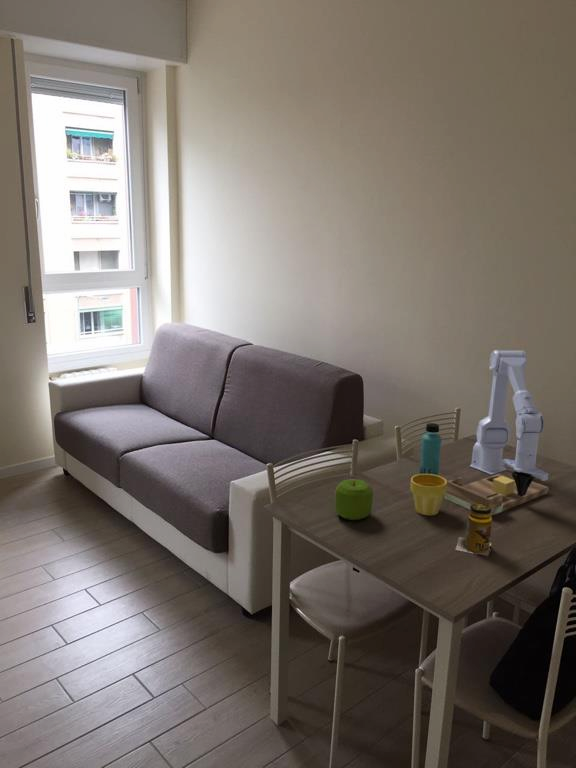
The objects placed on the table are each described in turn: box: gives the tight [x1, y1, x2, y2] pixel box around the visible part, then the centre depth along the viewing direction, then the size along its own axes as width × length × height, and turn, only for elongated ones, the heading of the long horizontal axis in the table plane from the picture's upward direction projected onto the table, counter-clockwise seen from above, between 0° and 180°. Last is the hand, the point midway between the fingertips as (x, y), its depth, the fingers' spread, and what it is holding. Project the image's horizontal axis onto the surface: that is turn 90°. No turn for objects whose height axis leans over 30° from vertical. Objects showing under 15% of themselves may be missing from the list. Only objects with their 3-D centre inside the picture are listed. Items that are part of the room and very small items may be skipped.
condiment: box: [455, 503, 493, 555], centre depth 169 cm, size 7×8×12 cm
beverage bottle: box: [419, 422, 443, 476], centre depth 209 cm, size 6×7×20 cm
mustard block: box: [492, 476, 515, 496], centre depth 200 cm, size 4×4×4 cm
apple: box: [334, 478, 374, 521], centre depth 187 cm, size 11×11×11 cm
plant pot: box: [410, 473, 448, 516], centre depth 190 cm, size 10×10×10 cm
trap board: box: [443, 470, 549, 517], centre depth 202 cm, size 30×16×6 cm, turn 126°
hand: (521, 495), depth 195 cm, fingers closed
